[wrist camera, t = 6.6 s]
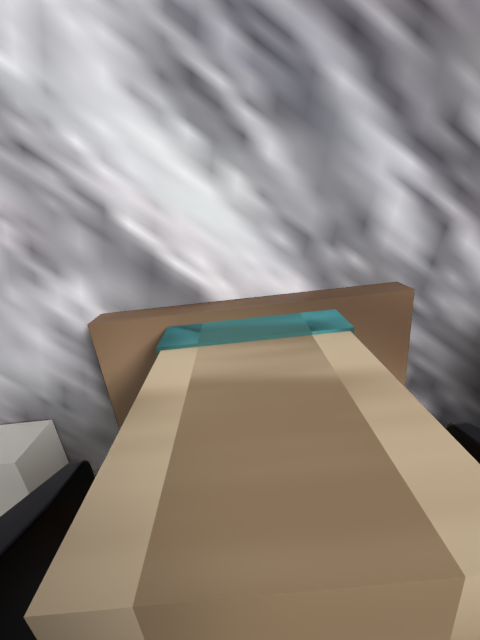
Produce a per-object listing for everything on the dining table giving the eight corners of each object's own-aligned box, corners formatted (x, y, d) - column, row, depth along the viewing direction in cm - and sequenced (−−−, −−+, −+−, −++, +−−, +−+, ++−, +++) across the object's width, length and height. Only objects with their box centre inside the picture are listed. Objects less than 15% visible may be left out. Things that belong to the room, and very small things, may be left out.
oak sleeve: (334, 443, 11) (486, 791, 4) (194, 456, 11) (137, 818, 4) (335, 309, 9) (595, 558, 3) (167, 326, 9) (8, 611, 3)
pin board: (375, 558, 15) (463, 772, 9) (175, 577, 15) (141, 799, 9) (397, 281, 10) (611, 375, 4) (101, 314, 10) (-65, 444, 4)
